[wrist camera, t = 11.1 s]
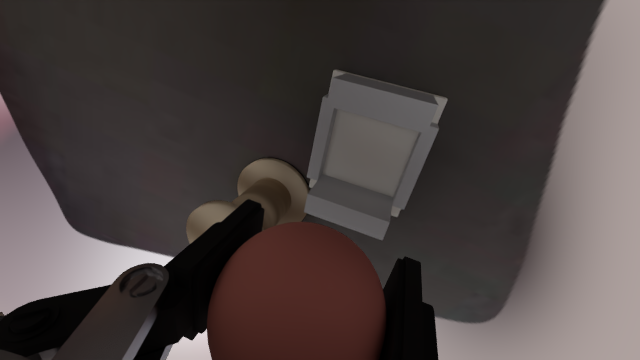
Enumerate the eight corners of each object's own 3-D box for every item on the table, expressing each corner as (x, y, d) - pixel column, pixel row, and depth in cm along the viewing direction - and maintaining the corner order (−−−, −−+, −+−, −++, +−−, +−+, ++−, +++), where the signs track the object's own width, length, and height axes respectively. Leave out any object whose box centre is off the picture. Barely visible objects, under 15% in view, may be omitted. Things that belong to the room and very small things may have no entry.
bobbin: (243, 147, 27) (178, 184, 19) (317, 172, 26) (277, 222, 18) (239, 211, 31) (183, 262, 23) (303, 235, 29) (265, 298, 22)
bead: (271, 174, 10) (147, 280, 5) (414, 223, 9) (416, 405, 4) (258, 273, 13) (167, 403, 8) (368, 320, 12) (339, 499, 7)
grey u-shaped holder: (336, 69, 21) (317, 73, 17) (446, 97, 20) (455, 109, 15) (312, 182, 26) (292, 208, 22) (397, 211, 25) (394, 245, 20)
